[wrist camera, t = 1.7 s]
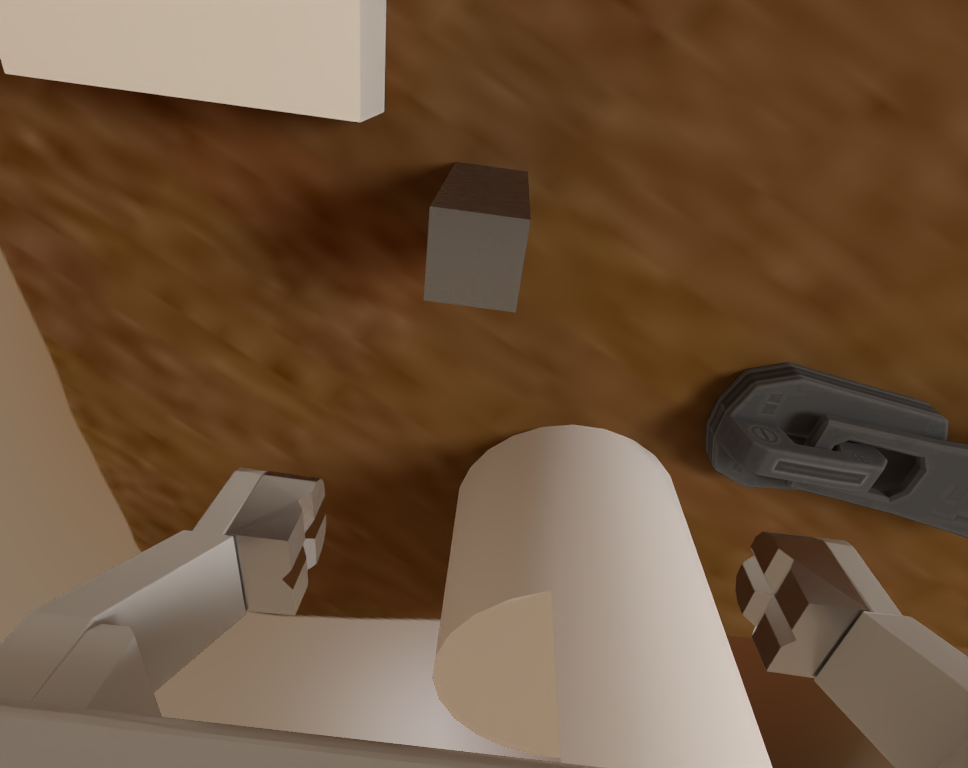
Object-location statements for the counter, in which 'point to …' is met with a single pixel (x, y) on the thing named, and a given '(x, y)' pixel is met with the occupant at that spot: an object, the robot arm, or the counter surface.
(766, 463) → the zipper pull
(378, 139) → the counter surface
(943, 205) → the counter surface
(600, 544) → the cylinder
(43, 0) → the well block
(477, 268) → the metal bar
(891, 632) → the robot arm
